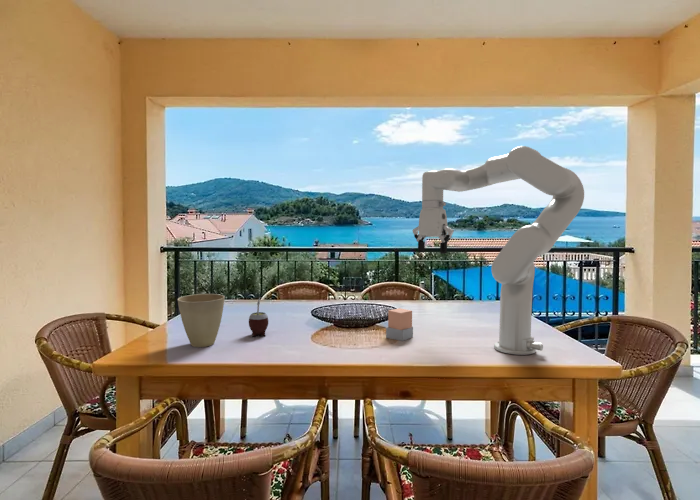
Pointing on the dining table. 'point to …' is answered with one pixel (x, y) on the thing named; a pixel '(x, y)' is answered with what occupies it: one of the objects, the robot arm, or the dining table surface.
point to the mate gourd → (258, 322)
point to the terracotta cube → (400, 318)
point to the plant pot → (201, 317)
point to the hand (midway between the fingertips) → (432, 252)
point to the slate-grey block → (399, 333)
